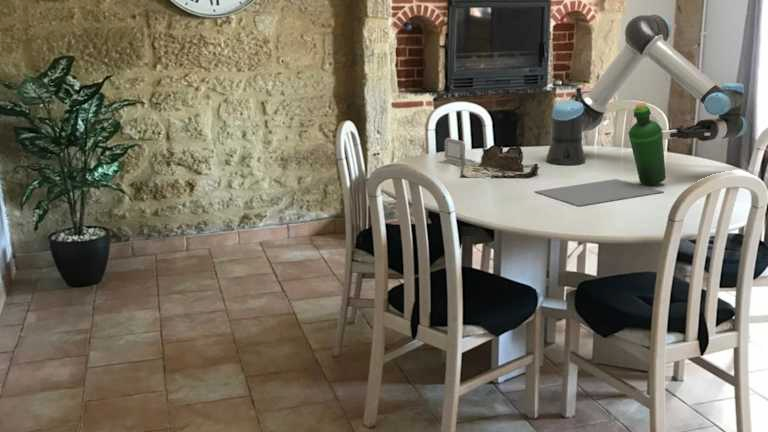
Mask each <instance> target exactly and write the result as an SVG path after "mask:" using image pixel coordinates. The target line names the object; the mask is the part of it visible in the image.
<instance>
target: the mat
mask: <svg viewBox="0 0 768 432" xmlns="http://www.w3.org/2000/svg"><path fill="white" fill-rule="evenodd" d="M534 193H536V194H538V195H541V196H544V197H548V198H551V199H552V200H556V201H560V202H563V203H565V204H570V205H572V206H575V207H578V208H579V207H587V206H591V205H598V204H604V203H608V202H609V203H610V202H611V203H612V202H615V201H621V200H628V199H634V198H639V197H646V196H652V195H658V194H659V195H660V194H664V190H659V189H656V188H652V187H648V186H645V185H640V184H635V183H632V182H628V181H625V180H621V179H618V178H615V179H608V180H607V179H606V180H602V181H593V182H588V183H582V184H581V183H580V184H573V185H568V186H560V187H555V188H547V189H540V190H535V191H534Z"/></svg>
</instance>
